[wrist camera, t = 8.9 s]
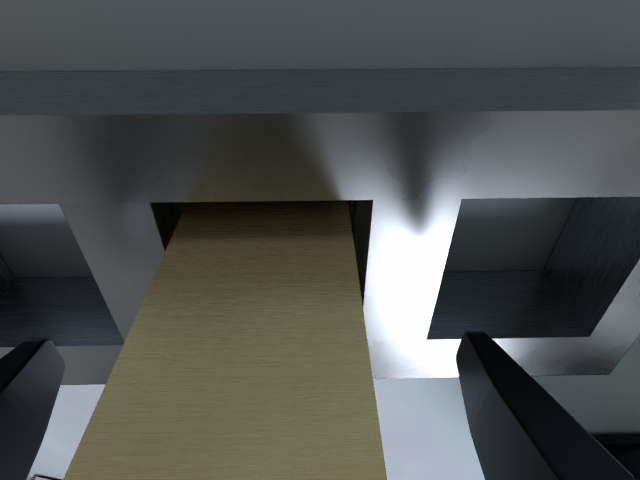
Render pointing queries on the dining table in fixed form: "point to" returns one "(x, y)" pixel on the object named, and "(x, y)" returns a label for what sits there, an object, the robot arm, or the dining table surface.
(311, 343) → the brass peg
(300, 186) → the gray socket block
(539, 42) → the dining table surface
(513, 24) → the dining table surface
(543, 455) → the robot arm
